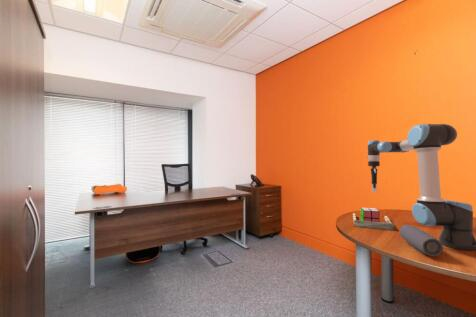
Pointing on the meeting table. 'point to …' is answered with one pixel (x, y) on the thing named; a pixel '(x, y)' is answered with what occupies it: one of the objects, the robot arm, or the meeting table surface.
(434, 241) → the bluetooth speaker
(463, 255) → the meeting table surface
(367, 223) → the wooden serving tray
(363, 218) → the puzzle cube
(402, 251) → the meeting table surface
